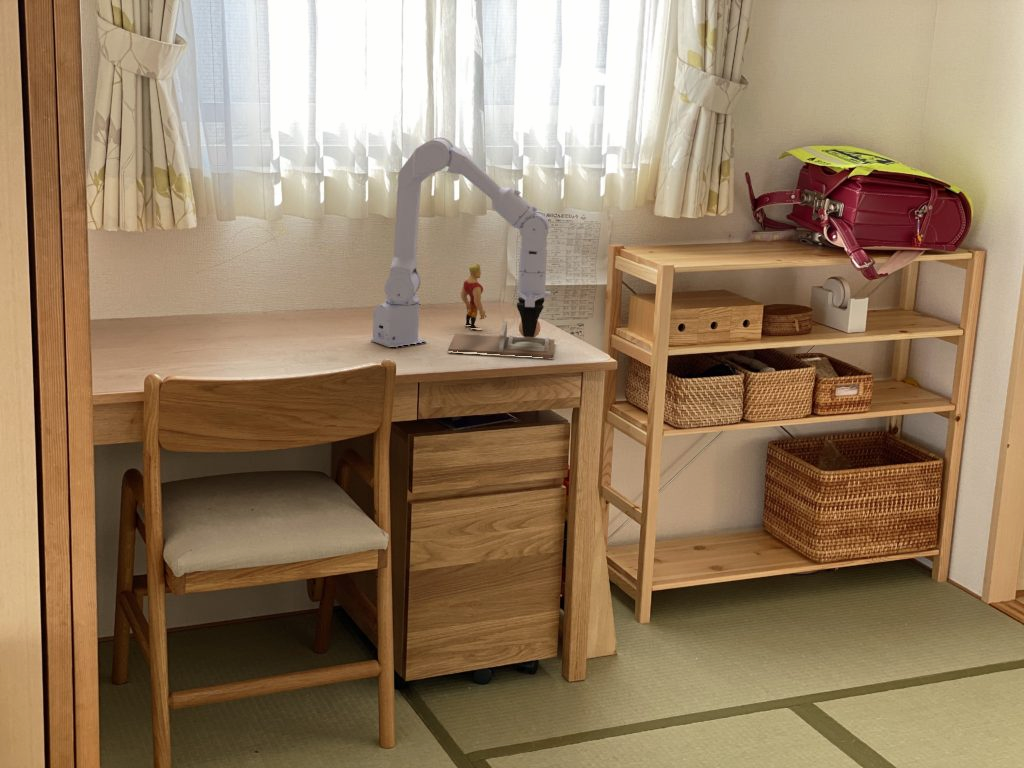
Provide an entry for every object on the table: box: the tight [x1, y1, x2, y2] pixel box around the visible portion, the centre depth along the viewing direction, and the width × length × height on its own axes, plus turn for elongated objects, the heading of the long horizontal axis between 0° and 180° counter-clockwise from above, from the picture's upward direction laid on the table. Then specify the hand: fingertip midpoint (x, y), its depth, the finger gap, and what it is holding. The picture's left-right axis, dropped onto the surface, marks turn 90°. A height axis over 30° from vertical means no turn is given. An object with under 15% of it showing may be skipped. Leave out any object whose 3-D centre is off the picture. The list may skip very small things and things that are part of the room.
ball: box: [518, 320, 541, 339], centre depth 256 cm, size 5×5×5 cm
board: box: [447, 320, 556, 359], centre depth 256 cm, size 22×14×4 cm, turn 87°
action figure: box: [460, 263, 487, 329], centre depth 272 cm, size 10×4×15 cm, turn 25°
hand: (529, 333), depth 256 cm, fingers closed on ball, 4 cm apart
